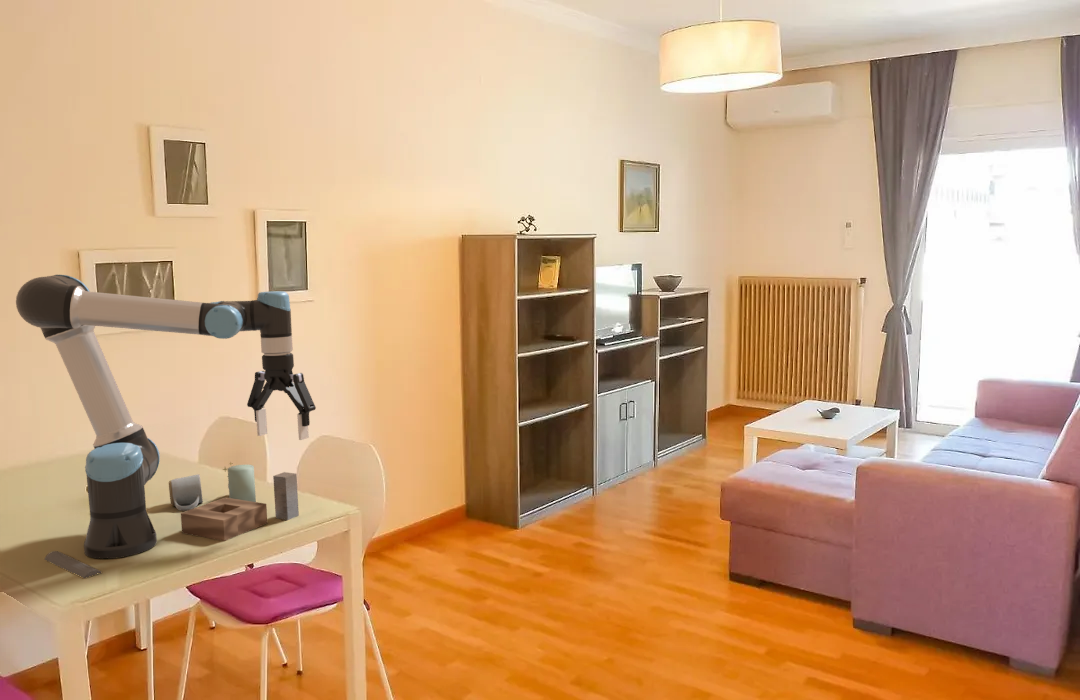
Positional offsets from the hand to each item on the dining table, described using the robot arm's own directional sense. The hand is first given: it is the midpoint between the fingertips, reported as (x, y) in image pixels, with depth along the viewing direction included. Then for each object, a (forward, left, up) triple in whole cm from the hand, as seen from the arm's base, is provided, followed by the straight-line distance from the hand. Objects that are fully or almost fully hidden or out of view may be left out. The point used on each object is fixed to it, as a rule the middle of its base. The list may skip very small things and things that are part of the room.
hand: (282, 436), depth 219 cm
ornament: (+9, +26, -21) cm, 35 cm away
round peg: (+1, +16, -21) cm, 26 cm away
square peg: (0, 0, -21) cm, 21 cm away
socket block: (-13, +8, -21) cm, 26 cm away
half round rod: (-45, +20, -22) cm, 54 cm away
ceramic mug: (-3, +32, -21) cm, 39 cm away
